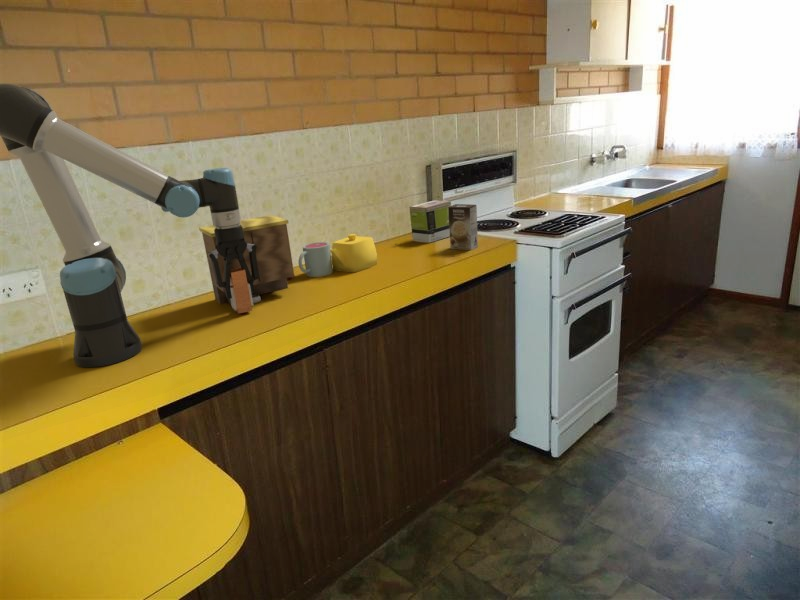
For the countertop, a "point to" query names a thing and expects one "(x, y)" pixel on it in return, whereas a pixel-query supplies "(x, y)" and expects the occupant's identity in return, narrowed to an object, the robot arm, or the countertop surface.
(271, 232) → the cabinet
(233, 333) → the countertop surface
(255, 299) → the token
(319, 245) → the mug
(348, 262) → the teapot
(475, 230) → the coffee box
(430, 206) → the tea box
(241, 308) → the upright terracotta brick
